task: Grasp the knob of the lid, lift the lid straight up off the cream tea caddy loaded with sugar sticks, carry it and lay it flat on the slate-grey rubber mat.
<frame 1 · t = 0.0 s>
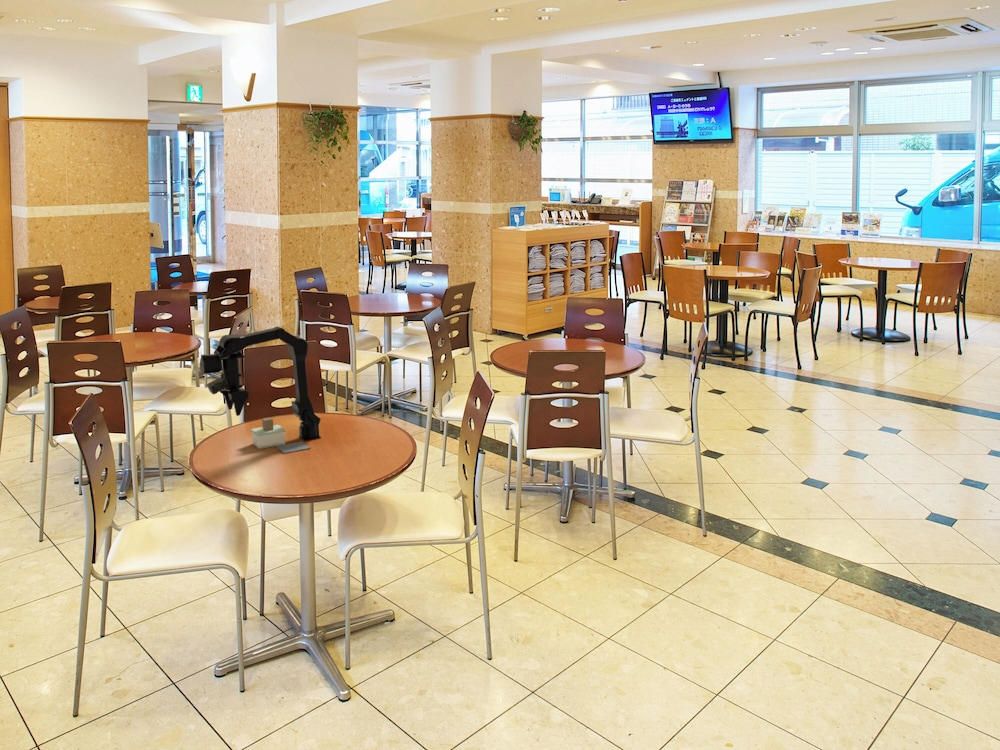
hand: (234, 412, 316), 14 cm above the table, fingers open, 9 cm apart
lid: (268, 431, 325), point 5 cm above the table, touching caddy
mat: (293, 447, 322), on the table
caddy: (269, 444, 326), on the table
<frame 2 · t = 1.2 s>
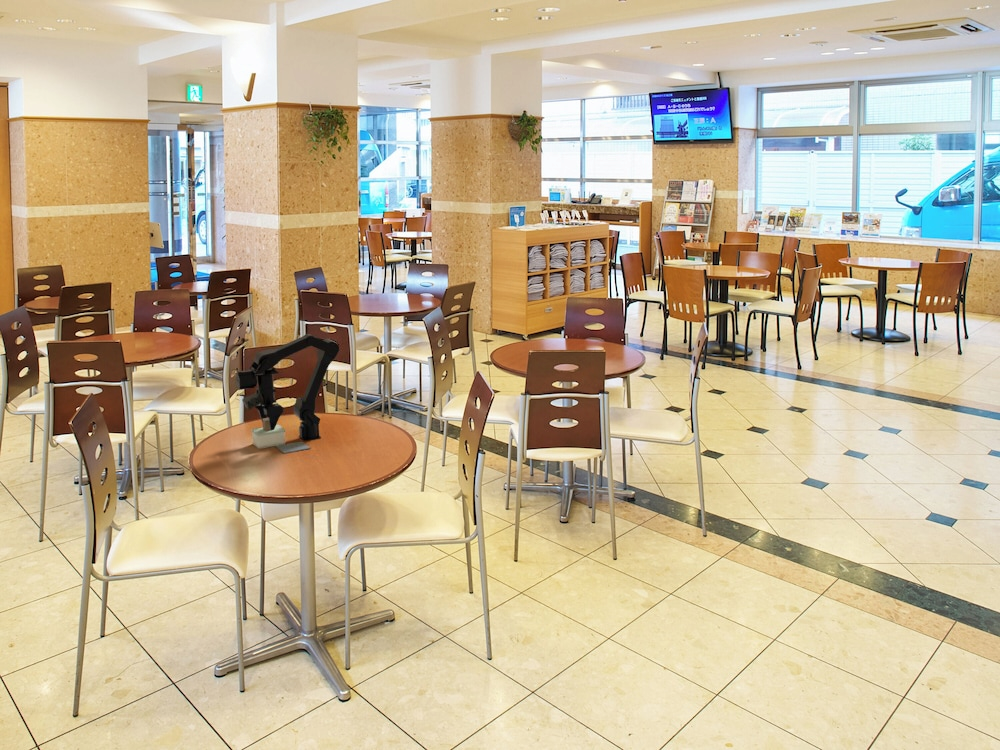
hand: (268, 426, 325), 7 cm above the table, fingers open, 9 cm apart
nothing on the table moved.
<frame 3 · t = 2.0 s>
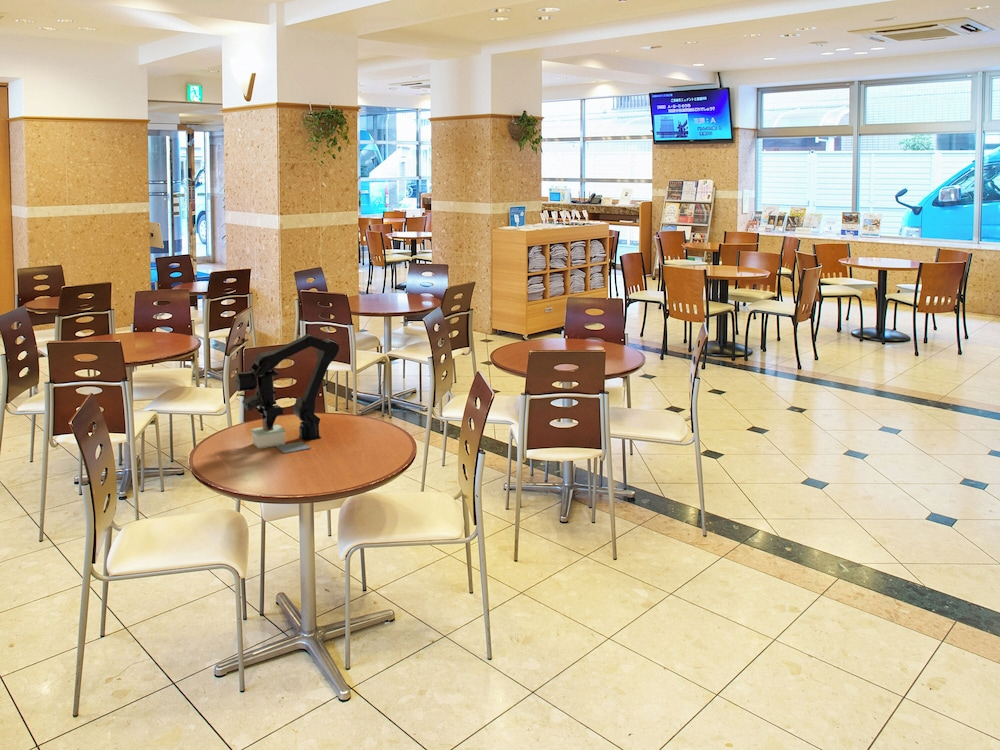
hand: (268, 428, 325), 6 cm above the table, fingers closed on lid, 3 cm apart
lid: (268, 431, 325), point 5 cm above the table, touching caddy, gripper
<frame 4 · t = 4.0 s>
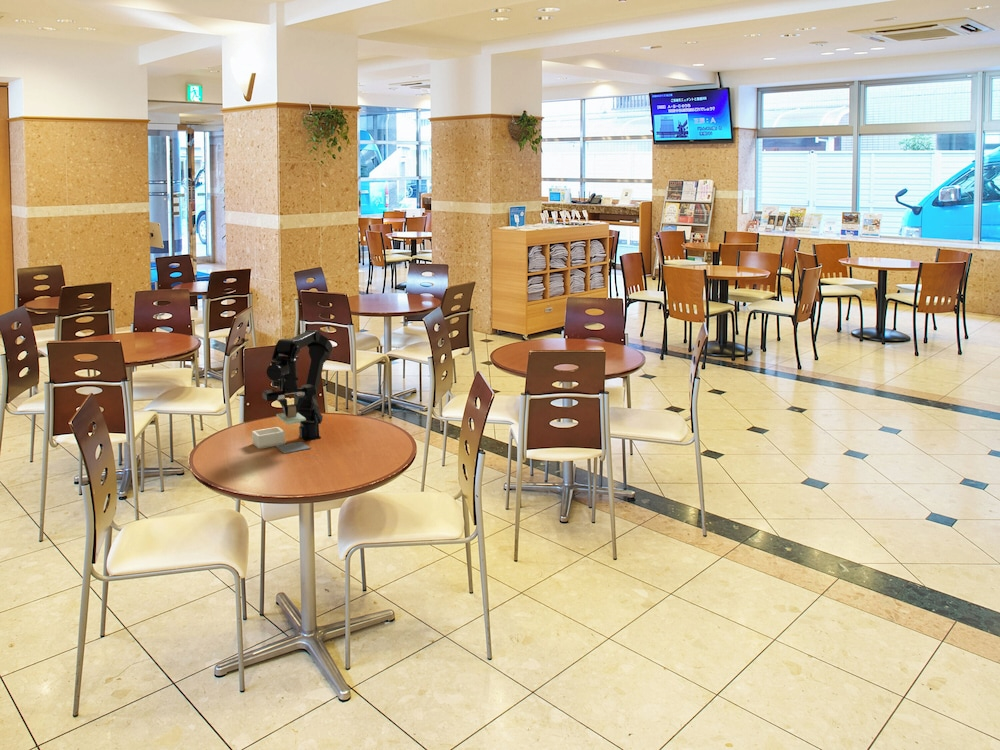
hand: (291, 415, 319), 13 cm above the table, fingers closed on lid, 3 cm apart
lid: (291, 418, 319), point 12 cm above the table, touching gripper
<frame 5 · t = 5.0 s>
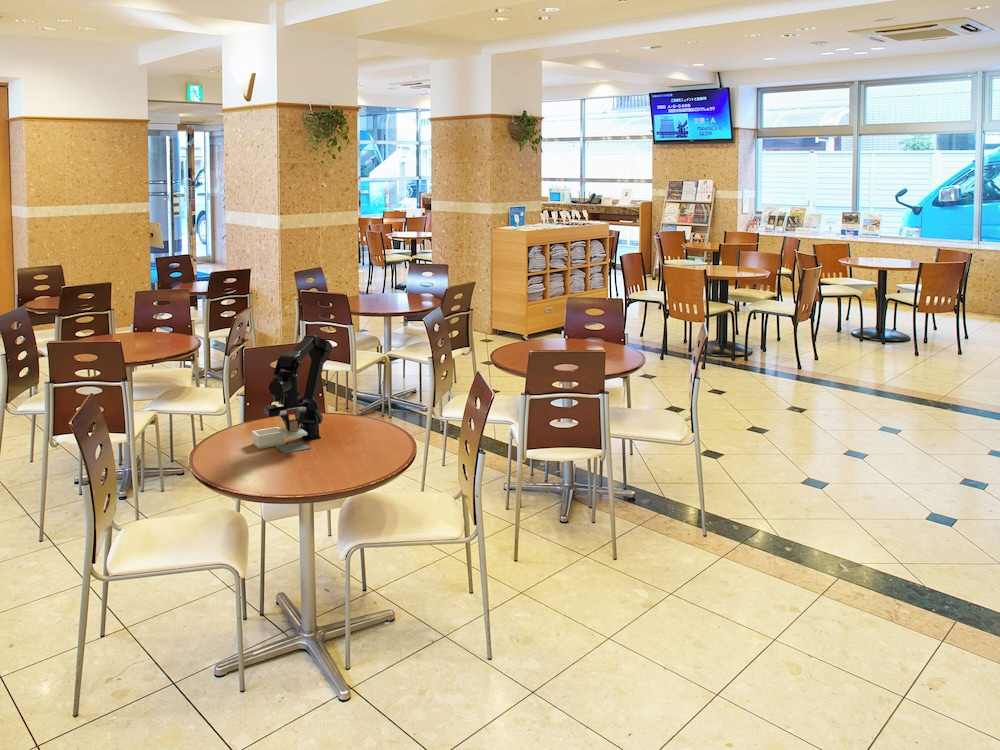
hand: (292, 429, 321), 7 cm above the table, fingers closed on lid, 3 cm apart
lid: (292, 433, 321), point 6 cm above the table, touching gripper
when the fingers open (4 cm above the table, at t = 5.9 s): lid drops 1 cm, resting on mat.
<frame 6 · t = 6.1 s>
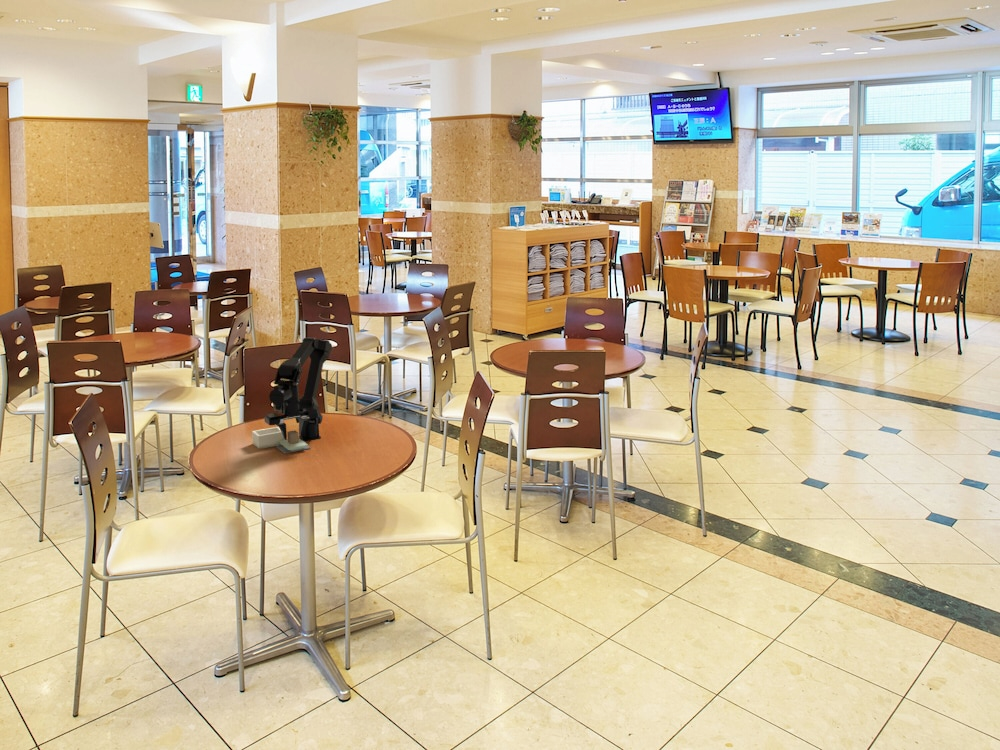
hand: (292, 438, 321), 4 cm above the table, fingers open, 5 cm apart
lid: (293, 444, 322), point 1 cm above the table, touching mat
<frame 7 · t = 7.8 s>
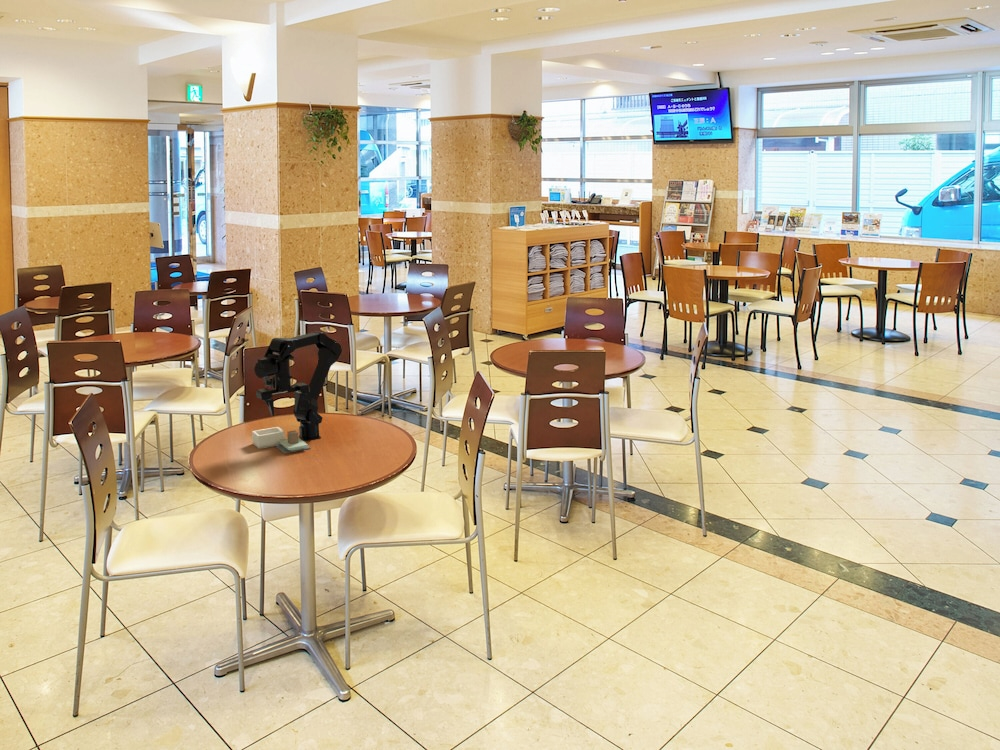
hand: (284, 413, 322), 12 cm above the table, fingers open, 9 cm apart
nothing on the table moved.
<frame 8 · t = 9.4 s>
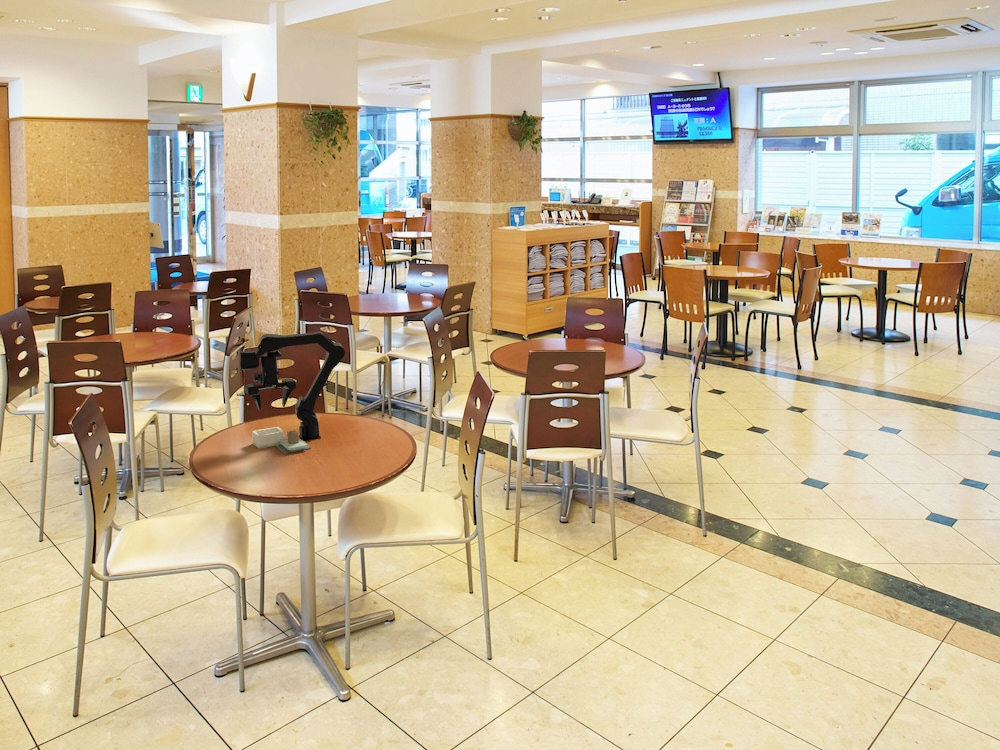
hand: (271, 408, 328), 12 cm above the table, fingers open, 9 cm apart
nothing on the table moved.
at the end: lid inside the target area on the mat (0.3 cm from its centre), point 1.4 cm above the mat's base; lid tilted 0°; the gripper is holding nothing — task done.
